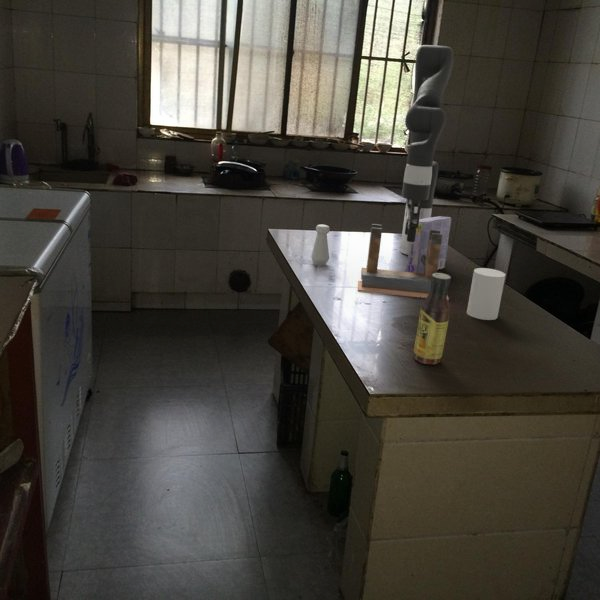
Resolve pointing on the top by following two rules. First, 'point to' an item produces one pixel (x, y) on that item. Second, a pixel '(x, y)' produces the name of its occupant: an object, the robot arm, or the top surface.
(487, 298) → the cup
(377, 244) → the rack
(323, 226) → the salt shaker
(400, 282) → the rail
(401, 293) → the mat
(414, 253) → the cake pan box
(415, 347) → the sauce bottle
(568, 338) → the top surface
